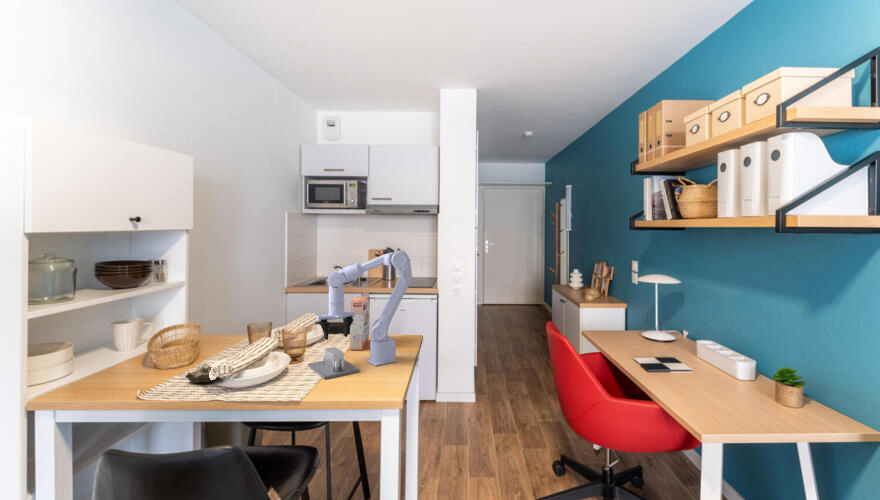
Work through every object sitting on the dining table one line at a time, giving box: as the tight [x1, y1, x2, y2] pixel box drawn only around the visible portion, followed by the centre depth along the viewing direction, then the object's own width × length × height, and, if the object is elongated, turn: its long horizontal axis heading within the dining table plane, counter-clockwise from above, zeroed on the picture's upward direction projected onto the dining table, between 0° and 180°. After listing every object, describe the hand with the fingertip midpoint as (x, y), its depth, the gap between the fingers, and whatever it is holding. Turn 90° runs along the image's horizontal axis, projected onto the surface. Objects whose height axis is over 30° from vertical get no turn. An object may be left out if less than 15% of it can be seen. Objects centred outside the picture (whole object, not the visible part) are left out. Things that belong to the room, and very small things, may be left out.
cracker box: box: [349, 295, 371, 351], centre depth 178 cm, size 14×6×21 cm, turn 179°
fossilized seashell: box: [185, 362, 213, 384], centre depth 135 cm, size 8×7×10 cm
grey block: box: [324, 346, 345, 371], centre depth 149 cm, size 4×8×6 cm, turn 37°
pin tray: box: [307, 352, 360, 381], centre depth 149 cm, size 13×16×4 cm
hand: (336, 337), depth 157 cm, fingers open, 7 cm apart
